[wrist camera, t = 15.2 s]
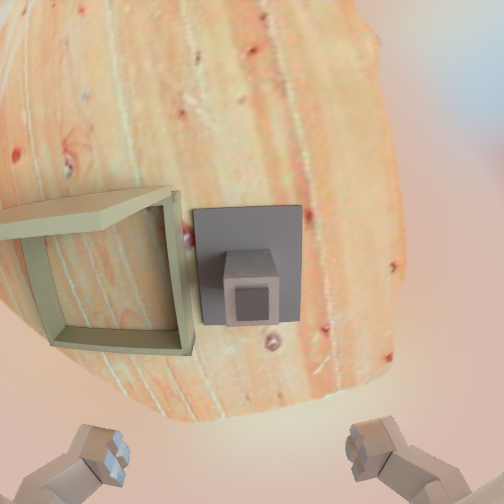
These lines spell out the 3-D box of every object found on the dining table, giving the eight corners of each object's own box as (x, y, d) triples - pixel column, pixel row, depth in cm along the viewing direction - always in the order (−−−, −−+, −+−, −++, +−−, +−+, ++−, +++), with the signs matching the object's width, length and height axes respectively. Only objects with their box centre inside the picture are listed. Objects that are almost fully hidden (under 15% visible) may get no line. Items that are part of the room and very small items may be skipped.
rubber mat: (204, 322, 31) (204, 325, 30) (193, 209, 27) (193, 210, 27) (298, 318, 31) (299, 320, 30) (301, 205, 27) (302, 205, 27)
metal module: (229, 289, 29) (226, 330, 22) (227, 250, 28) (222, 282, 21) (270, 288, 29) (279, 328, 22) (269, 249, 28) (280, 279, 21)
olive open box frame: (63, 331, 31) (-6, 416, 15) (34, 200, 26) (-78, 239, 10) (195, 337, 31) (169, 462, 15) (179, 182, 26) (99, 211, 11)
